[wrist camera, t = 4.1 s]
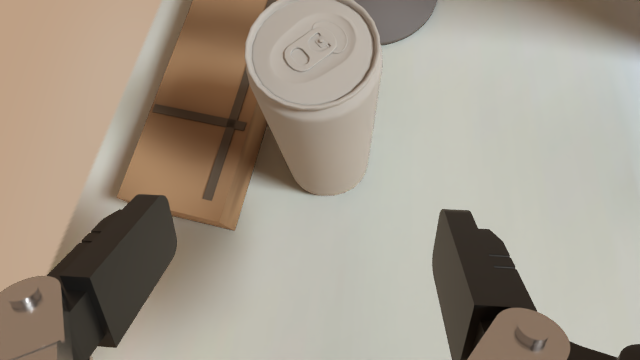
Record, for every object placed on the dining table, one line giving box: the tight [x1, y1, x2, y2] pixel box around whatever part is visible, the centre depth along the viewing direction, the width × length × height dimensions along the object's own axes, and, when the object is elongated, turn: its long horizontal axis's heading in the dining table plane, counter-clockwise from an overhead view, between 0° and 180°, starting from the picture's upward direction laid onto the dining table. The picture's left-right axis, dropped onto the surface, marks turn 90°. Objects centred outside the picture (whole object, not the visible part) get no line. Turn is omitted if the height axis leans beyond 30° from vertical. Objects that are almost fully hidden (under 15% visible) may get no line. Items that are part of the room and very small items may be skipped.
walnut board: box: [117, 0, 278, 231], centre depth 26 cm, size 24×6×3 cm, turn 166°
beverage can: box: [245, 0, 383, 196], centre depth 19 cm, size 5×5×12 cm
